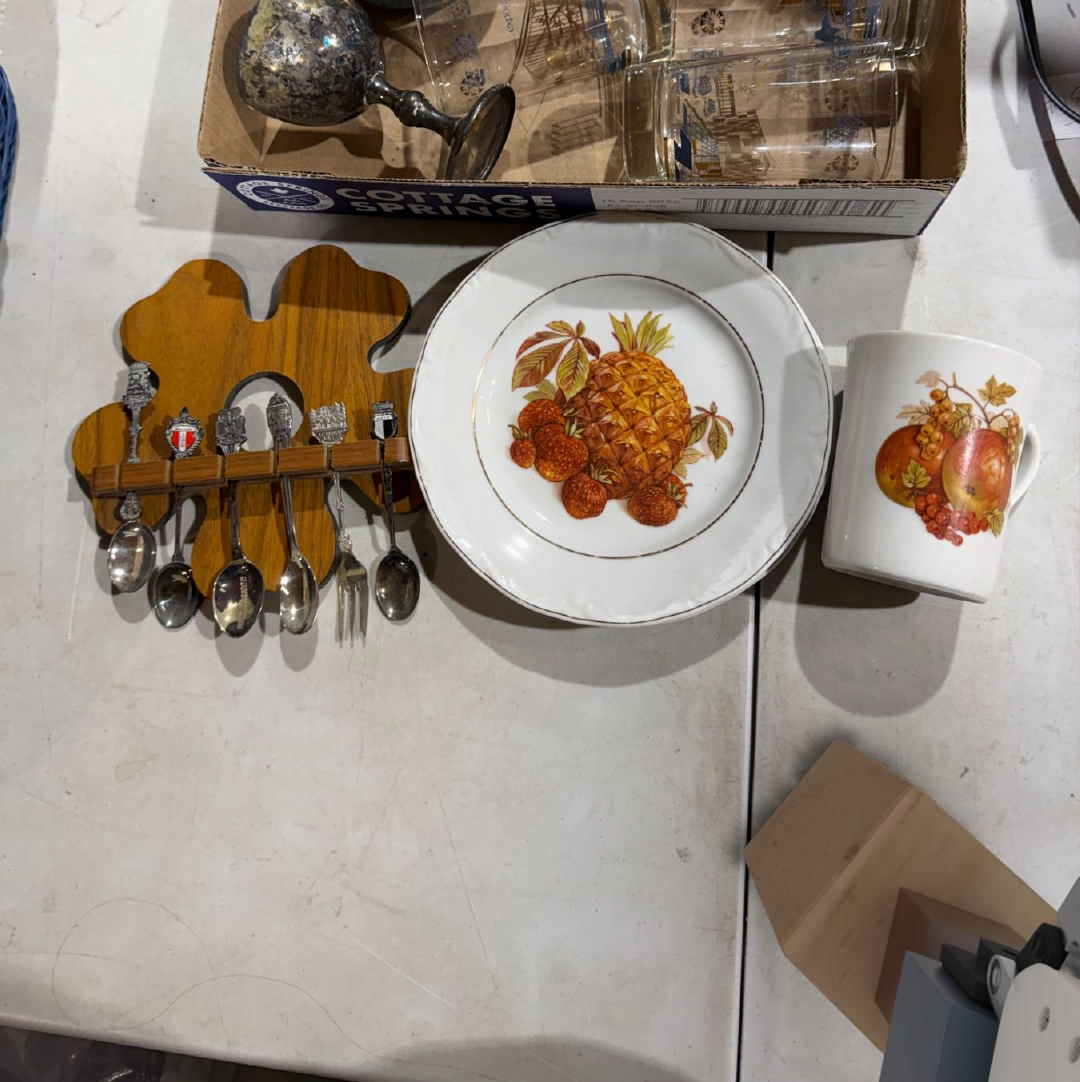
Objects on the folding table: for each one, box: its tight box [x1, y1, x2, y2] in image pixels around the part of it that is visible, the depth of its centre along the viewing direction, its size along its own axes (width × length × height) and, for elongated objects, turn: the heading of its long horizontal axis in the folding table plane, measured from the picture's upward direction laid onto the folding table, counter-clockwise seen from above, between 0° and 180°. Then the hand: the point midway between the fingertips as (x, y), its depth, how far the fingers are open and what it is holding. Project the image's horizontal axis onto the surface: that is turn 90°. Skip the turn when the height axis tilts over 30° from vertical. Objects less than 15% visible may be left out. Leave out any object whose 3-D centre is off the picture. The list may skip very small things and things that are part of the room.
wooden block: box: [742, 738, 1058, 1055], centre depth 54 cm, size 10×10×20 cm
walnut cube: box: [875, 887, 1028, 1026], centre depth 42 cm, size 5×5×5 cm
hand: (970, 1063), depth 32 cm, fingers closed on slate cube, 5 cm apart
